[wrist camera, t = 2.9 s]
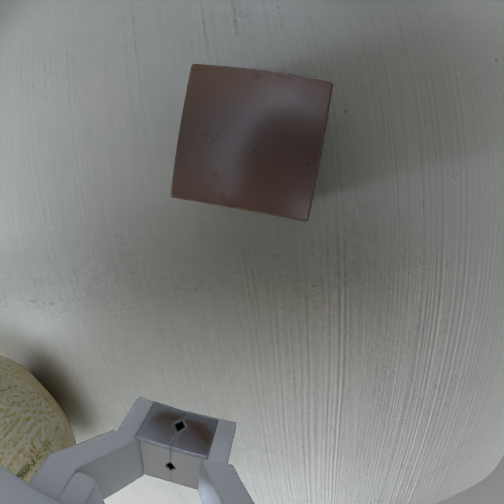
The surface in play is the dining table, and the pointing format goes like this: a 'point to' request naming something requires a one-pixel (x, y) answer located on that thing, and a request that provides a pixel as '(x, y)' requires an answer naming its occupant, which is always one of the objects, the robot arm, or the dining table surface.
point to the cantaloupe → (28, 422)
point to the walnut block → (251, 140)
